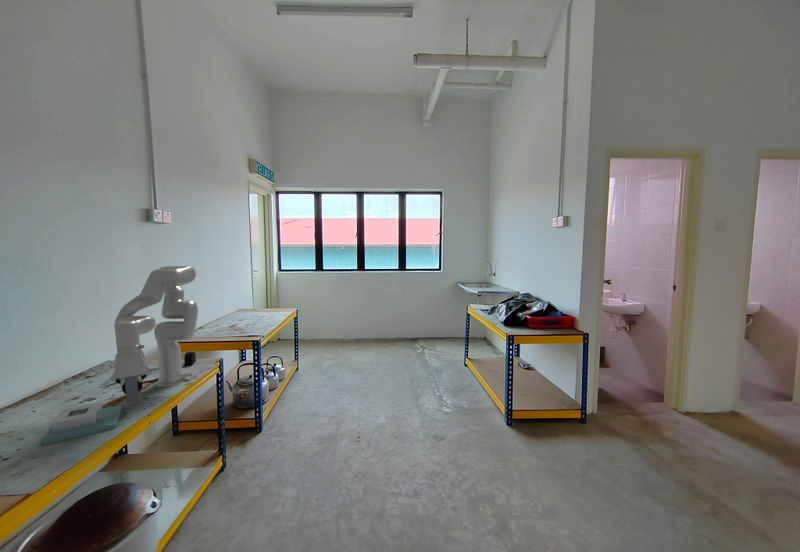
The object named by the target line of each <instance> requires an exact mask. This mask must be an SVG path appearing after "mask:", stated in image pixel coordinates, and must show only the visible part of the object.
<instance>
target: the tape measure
mask: <svg viewBox="0 0 800 552" xmlns="http://www.w3.org/2000/svg"><path fill="white" fill-rule="evenodd" d="M196 362H197V357H196V352H195V351H187V352H185V353H184V359H183V363H184V364H183V365H184V367H191V366H193V365H194V364H195V363H196Z"/></svg>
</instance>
